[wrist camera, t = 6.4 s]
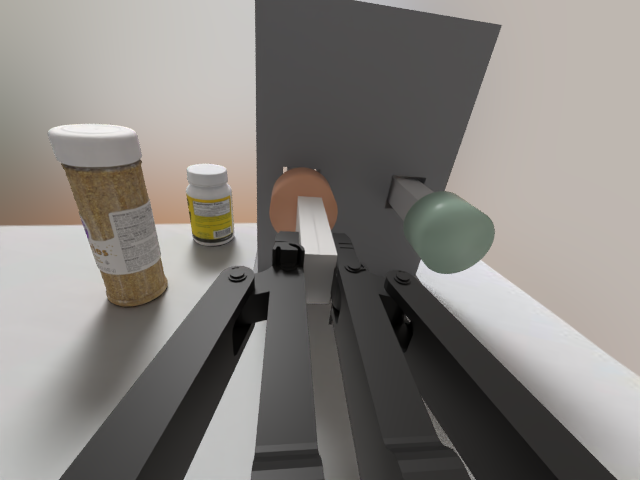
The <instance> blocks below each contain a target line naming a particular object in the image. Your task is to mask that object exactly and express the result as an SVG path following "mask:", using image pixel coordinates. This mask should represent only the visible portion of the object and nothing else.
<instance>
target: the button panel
mask: <svg viewBox="0 0 640 480" xmlns="http://www.w3.org/2000/svg"><path fill="white" fill-rule="evenodd" d="M255 27H256V28H255V33H256V35H255V36H256V132H257V135H256V139H257V140H256V141H257V142H256V143H257V253H256V259H255V264H254V270H253V272H254V273H259V272H263V271H265V270H268V269H269V268H270V267H271V266H272V250H273V247H274V246H275V237H276V235H277V234H278V233H277V232H276V230H275V229H274V227H273V225H272V223H271V220H270V214H269V211H270V203H271V196H272V190H273V187H274V184H275V182H276V181H277V179H278V178H279V177H280V176H281V175H282V174H283V167H295V168H299V167H305V168H310V169H316V171H317V172H319V173H320V174H322V175H323V176H324V177H325V179H326V180H327V181H328V183H329V185H330V188H331V190H332V193H333V195H334V198H335V201H336V203H337V208H338V215H337V220H336V223H335V225H334V227H333V228H332V230H331V233H345V234H346V235H347V236H348V237H349V238H350V239H351V241H352V245H353V247H354V249H355V252H356V254H357V257H358V260H359V262H362V263H363V264H365V265H366V267H367V268H368V270H369V272H370V273H372V274H375V275H379V276H383V277H386V275H387V273H388V272H389V271H392V270H402V271H405V272H408V273H410V274H411V275H413V276H414V277H415V278H416V279H417V280H418V281H419V279H418V278H417V276H416V272H417V269H418V266H419V263H420V260H421V258H420V257H419V255H418V254H417V253H416V251H415V250H414V249H413V247H412V246H411V245H410V243H409V242H408V241H407V239H406V238H405V235H404V231H403V224H404V221H403V220H402V219H401V217H400V216H399V215H398V214H397V212H396V211H395V210H394V209H393V208H392V206H391V205H390V204H389V203H388V202H387V196H388V192H389V188H390V184H391V180H392V175H398V176H411V177H415V178H416V179H417V180H419V181H420V182H421V183H423V184H424V185H425V186H427V187H428V188H429V189H431V190H432V191H433V192H439V191H445V188H446V185H447V182H448V179H449V176H450V173H451V170H452V168H453V165H454V162H455V159H456V156H457V153H458V150H459V147H460V144H461V142H462V138H463V135H464V133H465V130H466V127H467V124H468V121H469V118H470V116H471V113H472V110H473V107H474V104H475V101H476V98H477V95H478V92H479V89H480V86H481V84H482V81H483V78H484V75H485V72H486V69H487V66H488V63H489V61H490V58H491V55H492V52H493V49H494V46H495V43H496V40H497V37H498V35H499V32H500V28H501V25H498V24H492V23H486V22H480V21H474V20H467V19H462V18H456V17H450V16H443V15H438V14H432V13H426V12H420V11H414V10H408V9H402V8H396V7H391V6H385V5H379V4H373V3H367V2H361V1H355V0H255ZM419 282H420V281H419ZM420 283H421V282H420Z"/></svg>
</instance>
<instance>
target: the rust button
mask: <svg viewBox="0 0 640 480" xmlns="http://www.w3.org/2000/svg"><path fill="white" fill-rule="evenodd" d="M298 196H305V197H320V198H322V201H323V204H324V208H325V211H326V215H327V219H328V222H329V226H330V230H332V228H333V227H334V225H335V223H336V220H337V215H338V208H337V203H336V201H335V198H334V195H333V193H332V190H331V188H330V185H329V183H328V181H327V180H326V179H325V177H324V176H323V175H322V174H320V173H319V172H317V171H315V170H314V169H310V168H305V167H299V168H295V167H287V171H286V172H285V173H283V174H282V175H281V176H280V177H279V178H278V179H277V181H276V182H275V184H274V187H273V190H272V196H271V203H270V211H269V214H270V220H271V223H272V225H273V227H274V229H275V230H276V232H277V233H279V232H280V231H291V232H295V231H296V216H297V202H298Z"/></svg>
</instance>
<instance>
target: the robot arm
mask: <svg viewBox="0 0 640 480" xmlns="http://www.w3.org/2000/svg"><path fill="white" fill-rule="evenodd" d="M330 298H332V307H331V313H330V319H329V324H331V323H332V321H333V327H334V332H335V338H336V344H337V349H338V355H339V361H340V366H341V372H342V378H343V384H344V389H345V395H346V401H347V406H348V412H349V418H350V423H351V429H352V435H353V441H354V446H355V452H356V458H357V463H358V469H359V475H360V480H471V479H470V477H469V475H468V473H467V470H466V468H465V466H464V465H463V463H462V461H461V459H460V457H459V456H458V455H457V454H456V453H455V451H454V450H453V449H451V448H449V447H446V446H444V445H443V444H442V443H441V442H440V440H439V438H438V436H437V434H436V432H435V429H434V427H433V424H432V422H431V419H430V417H429V415H428V412H427V410H426V407H425V405H424V403H423V400H422V398H423V399H424V401H425V402H426V404H427V405H428V407H429V408H430V410H431V411H432V413H433V415H434V416H435V418H436V419H437V421H438V422H439V424H440V425H441V427H442V428H443V430H444V431H445V433H446V434H447V436H448V438H449V439H450V441H451V442H452V444H453V445H454V447H455V448H456V450H457V451H458V453H459V454H460V456H461V457H462V459H463V460H464V462H465V464H466V465H467V467H468V468H469V470H470V471H471V473H472V474H473V476H474V477H475V479H476V480H617V479H616V478H615V477H614V476H613V475H612V474H611V473H610V472H609V471H608V470H607V469H606V468H605V467H604V466H603V465H602V464H601V463H600V462H599V461H598V460H597V459H596V458H595V457H594V456H593V455H592V454H591V453H590V452H589V451H588V450H587V449H586V448H585V447H584V446H583V445H582V444H581V443H580V442H579V441H578V440H577V439H576V438H575V437H574V436H573V435H572V434H571V433H570V432H569V431H568V430H567V429H566V428H565V427H564V426H563V425H562V424H561V423H560V422H559V421H558V420H557V419H556V418H555V417H554V416H553V415H552V414H551V413H550V412H549V411H548V410H547V409H546V408H545V407H544V406H543V405H542V404H541V403H540V402H539V401H538V400H537V399H536V398H535V397H534V396H533V395H532V394H531V393H530V392H529V391H528V390H527V389H526V388H525V387H524V386H523V385H522V384H521V383H520V382H519V381H518V380H517V379H516V378H515V377H514V376H513V375H512V374H511V373H510V372H509V371H508V370H507V369H506V368H505V367H504V366H503V365H502V364H501V363H500V362H499V361H498V360H497V359H496V358H495V357H494V356H493V355H492V354H491V353H490V352H489V351H488V350H487V349H486V348H485V347H484V346H483V345H482V344H481V343H480V342H479V341H478V340H477V339H476V338H475V337H474V336H473V335H472V334H471V333H470V332H469V331H468V330H467V329H466V328H465V327H464V326H463V325H462V324H461V323H460V322H459V321H458V320H457V319H456V318H455V317H454V316H453V315H452V314H451V313H450V312H449V311H448V310H447V309H446V308H445V307H444V306H443V305H442V304H441V303H440V302H439V301H438V300H437V299H436V298H435V297H434V296H433V295H432V294H431V293H430V292H429V291H428V290H427V289H426V288H425V287H424V286H423V285H422V284H421V283H420V282H419V281H418V280H417V279H416V278H415V277H414V276H413V275H411V274H410V273H408V272H405V271H402V270H392V271H389V272H388V273H387V275H386V277H383V276H379V275H375V274H372V273H370V272H369V270H368V268H367V267H366V265H365V264H363V263H362V262H359V260H358V257H357V254H356V252H355V249H354V247H353V245H352V241H351V239H350V238H349V237H348V236H347V235H346V234H345V233H331V230H330V226H329V222H328V219H327V215H326V211H325V208H324V204H323V201H322V198H320V197H305V196H298V202H297V216H296V231H295V232H291V231H280V232H279V233H278V234H277V235H276V237H275V246H274V247H273V250H272V266H271V267H270V268H269V269H268V270H265V271H263V272H259V273H254V272H253V271H252V270H251V269H250V268H247V267H244V266H234V267H230V268H227V269H225V270H224V271H223V272H222V273H221V274H220V275H219V276H218V277H217V279H216V280H215V281H214V283H213V284H212V285H211V286H210V288H209V289H208V290H207V291H206V293H205V294H204V295H203V297H202V298H201V299H200V300H199V302H198V303H197V304H196V306H195V307H194V308H193V309H192V311H191V312H190V313H189V314H188V316H187V317H186V318H185V320H184V321H183V322H182V323H181V325H180V326H179V327H178V328H177V330H176V331H175V332H174V334H173V335H172V336H171V337H170V339H169V340H168V341H167V343H166V344H165V345H164V346H163V348H162V349H161V350H160V351H159V353H158V354H157V355H156V357H155V358H154V359H153V360H152V362H151V363H150V364H149V365H148V367H147V368H146V369H145V371H144V372H143V373H142V374H141V376H140V377H139V378H138V380H137V381H136V382H135V383H134V385H133V386H132V387H131V388H130V390H129V391H128V392H127V394H126V395H125V396H124V397H123V399H122V400H121V401H120V402H119V404H118V405H117V406H116V408H115V409H114V410H113V411H112V413H111V414H110V415H109V417H108V418H107V419H106V420H105V422H104V423H103V424H102V425H101V427H100V428H99V429H98V431H97V432H96V433H95V434H94V436H93V437H92V438H91V439H90V441H89V442H88V443H87V445H86V446H85V447H84V448H83V450H82V451H81V452H80V453H79V455H78V456H77V457H76V459H75V460H74V461H73V462H72V464H71V465H70V466H69V468H68V469H67V470H66V471H65V473H64V474H63V475H62V476H61V478H60V479H59V480H183V479H184V477H185V475H186V473H187V471H188V469H189V467H190V464H191V462H192V460H193V458H194V456H195V454H196V451H197V449H198V447H199V445H200V443H201V441H202V439H203V436H204V434H205V432H206V430H207V428H208V426H209V423H210V421H211V419H212V417H213V415H214V413H215V410H216V408H217V406H218V404H219V402H220V400H221V398H222V395H223V393H224V391H225V389H226V387H227V385H228V382H229V380H230V378H231V376H232V374H233V372H234V370H235V367H236V365H237V363H238V361H239V359H240V357H241V354H242V352H243V350H244V348H245V346H246V344H247V342H248V339H249V337H250V335H251V333H252V331H253V329H254V326H255V323H256V322H260V321H263V320H267V327H266V338H265V349H264V360H263V371H262V382H261V393H260V404H259V414H258V425H257V436H256V447H255V456H254V460H253V466H252V473H251V480H324V473H323V465H322V460H321V457H320V455H319V452H318V445H317V434H316V421H315V408H314V395H313V382H312V370H311V357H310V344H309V331H308V318H307V305H306V304H330ZM406 316H407V317H408V318H409V319H410V321H411V322H409V321H408V320H407V319H406ZM421 396H422V398H421Z"/></svg>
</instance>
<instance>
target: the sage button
mask: <svg viewBox="0 0 640 480" xmlns="http://www.w3.org/2000/svg"><path fill="white" fill-rule="evenodd" d="M387 202H388V203H389V204H390V205H391V206H392V208H393V209H394V210H395V211H396V212H397V214H398V215H399V216H400V217H401V219H402V220H403V221H404V224H403V231H404V235H405V238H406V239H407V241H408V242H409V243H410V245H411V246H412V247H413V249H414V250H415V251H416V253H417V254H418V255H419V257H420V258H421V259H422V261H423V262H424V263H425V265H426V266H427V267H428V268H429V269H431V270H432V271H434V272H437V273H441V274H452V273H457V272H460V271H463V270H466V269H468V268H470V267H471V266H473V265H474V264H476V263H477V262H478V261H480V260H481V259H482V258H483V257H484V256H485V254H486V253H487V252H488V250H489V249H490V247H491V245H492V243H493V240H494V234H495V229H494V225H493V222H492V221H491V219H490V218H489V217H488V216H487V215H486V214H484V213H483V212H481V211H480V210H478V209H477V208H475V207H474V206H472V205H471V204H469V203H468V202H466V201H465V200H464V199H462V198H460V197H459V196H457V195H456V194H454V193H451V192H446V191H439V192H433V191H432V190H431V189H429V188H428V187H427V186H425V185H424V184H423V183H421V182H420V181H419V180H417V179H416V178H415V177H411V176H398V175H392V180H391V184H390V188H389V192H388V196H387Z"/></svg>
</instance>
